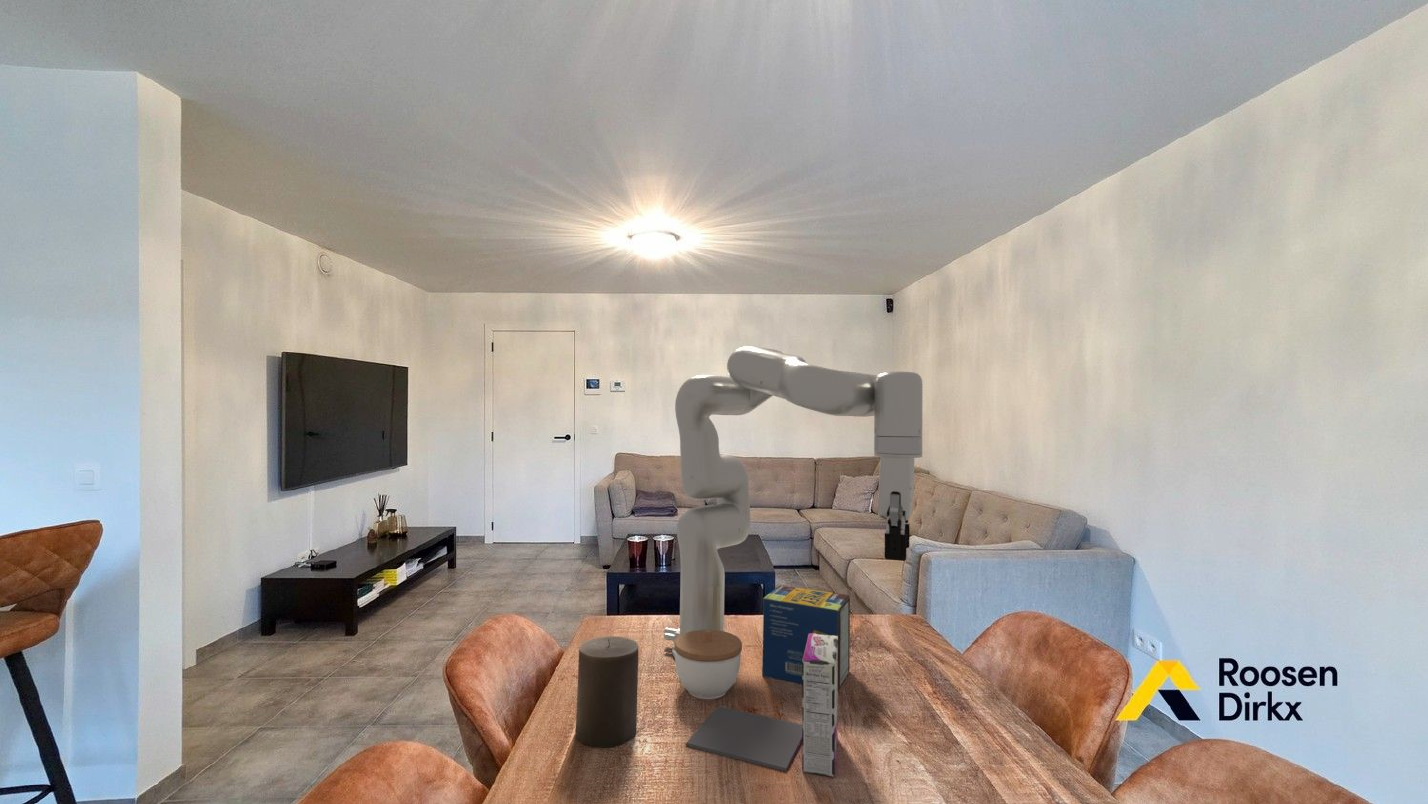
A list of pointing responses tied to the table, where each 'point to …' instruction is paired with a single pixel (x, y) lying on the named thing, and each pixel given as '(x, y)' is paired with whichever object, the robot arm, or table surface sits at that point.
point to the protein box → (802, 629)
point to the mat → (749, 737)
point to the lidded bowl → (707, 662)
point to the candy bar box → (820, 704)
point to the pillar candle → (607, 691)
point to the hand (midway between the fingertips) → (897, 553)
